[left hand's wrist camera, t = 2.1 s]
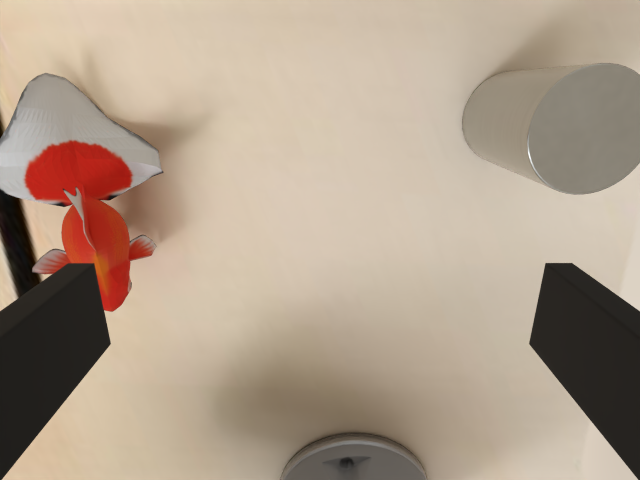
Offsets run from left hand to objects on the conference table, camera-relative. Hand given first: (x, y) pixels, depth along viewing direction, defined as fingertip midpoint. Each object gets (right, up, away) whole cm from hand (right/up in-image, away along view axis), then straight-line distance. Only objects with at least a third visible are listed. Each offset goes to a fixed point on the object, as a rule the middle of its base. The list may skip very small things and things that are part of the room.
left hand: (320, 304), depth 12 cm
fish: (-16, +6, +20) cm, 27 cm away
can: (+14, +11, +18) cm, 25 cm away
